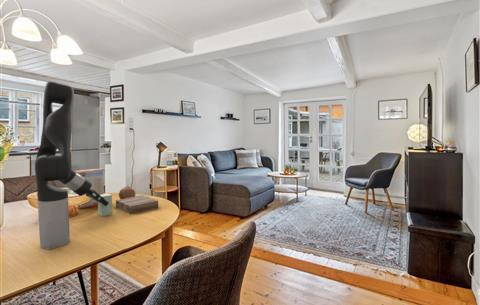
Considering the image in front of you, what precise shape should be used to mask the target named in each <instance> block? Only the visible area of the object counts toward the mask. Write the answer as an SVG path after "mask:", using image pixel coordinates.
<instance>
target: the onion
mask: <svg viewBox="0 0 480 305" xmlns="http://www.w3.org/2000/svg"><path fill="white" fill-rule="evenodd" d="M131 197H136V191H135V189H133V188H132V187H130V186H128V185H127V186H125V187H123V188H121V189H120V190H119V192H118V198H119V200H120V199H125V198H131Z"/></svg>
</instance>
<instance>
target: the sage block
mask: <svg viewBox="0 0 480 305" xmlns="http://www.w3.org/2000/svg"><path fill="white" fill-rule="evenodd" d="M100 196H102V197H103V198H104V199H105V200H106V201H107V202H109V204H108V205H107V206H104V205H103V204H102V203H100V202H99V201H98V205H97V208H98V209H97V210H98V211H97V212H98V215H99V216H101V217H105V216H109V215H113V197H112V196H113V195H112V194H110V193H104V194H101V195H100ZM98 200H100V197H99V198H98Z"/></svg>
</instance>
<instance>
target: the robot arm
mask: <svg viewBox="0 0 480 305" xmlns="http://www.w3.org/2000/svg"><path fill="white" fill-rule="evenodd" d="M74 96H75V90H74V89H73V87H72V86H71V85H68V84H64V83H58V82H55V81H50V80H49V81H48V82H46V84H45V86H44V90H43V99H42V100H43V102H42V103H43V104H42V106H43V107H42V131H41V137H40V145H39V148H38V151H37V153H36V154H37V155H36V156H35V157H36V158H35V161H34V174H35V180H36V193H37V194H36V195H37V210H38V212H37V213H38V231H39V234H38V236H39V247H40V248H42V249H47V250H52V249H55V248H60V247H64V246H67V245H69V243H70V241H71V236H70V211H69V210H70V208H69V191H68V190H67V189H69V190H71V191H72V192H73V193H74V194H75V193H76V194H78V195H79V196H82V195H84V194H86V196H87V197H89V198H92V199H93V200H95V201H97V202H98V201H99V202H100V203H102V204H103V205H104V206H107V205H108V204H109V202H107V201H106V200H105V199H104V198H103V197H102V196H100V194H98V193H97V192H96V191H95V190H93V189H90V188H91V186H92V184H91V183H90V182H89V181H87V180H86V179H85V178H83V177H82V176H81V175H79V174H77V173H76V172H74V171H75V170H73V169H72V153H71V152H72V151H71V147H72V145H71V143H72V131H73V106H74V99H75V98H74ZM52 104H57V105H61V106H60V107H59V108H57V109H56V110H54V111H53V105H52ZM57 151H58V152H59V153H60V155H56V153H57ZM54 181H55V182H56V181H59V182H60V183H61V184H63V185H64V186H65V187H66V188H67V189H66V188H62V187H58V186H54V185H52V184H51V183H49V182H54ZM99 197H100V200H98V198H99Z"/></svg>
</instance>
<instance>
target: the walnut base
mask: <svg viewBox="0 0 480 305" xmlns="http://www.w3.org/2000/svg"><path fill="white" fill-rule="evenodd" d="M115 208H117V209H119V210H121V211H124V212H126V213H127V214H130V215H131V213H132V214H136V213H140V212H144V211H148V210H153V209H157V208H159V200H158V199H155V198H153V197H152V198H151V197H149V196H147V195H143V194H142V195H137V196H136V195H135V197H131V198H125V199H120V198H119V199H116V200H115Z"/></svg>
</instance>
